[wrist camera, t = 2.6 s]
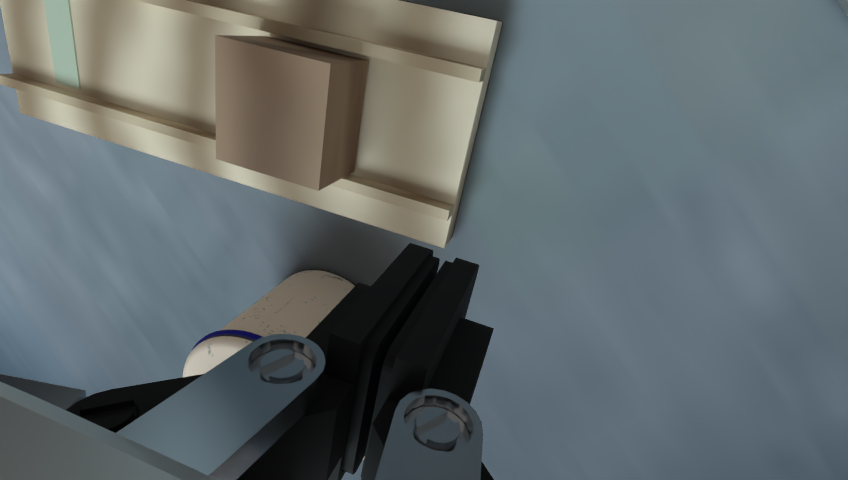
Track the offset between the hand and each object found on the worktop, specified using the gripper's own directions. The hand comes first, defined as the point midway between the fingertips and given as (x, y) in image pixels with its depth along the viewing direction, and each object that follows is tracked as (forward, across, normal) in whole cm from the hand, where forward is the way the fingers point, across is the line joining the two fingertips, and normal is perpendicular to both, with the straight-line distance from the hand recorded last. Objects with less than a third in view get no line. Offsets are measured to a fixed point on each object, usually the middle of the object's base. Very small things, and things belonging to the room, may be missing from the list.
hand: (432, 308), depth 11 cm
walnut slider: (+15, +12, 0) cm, 19 cm away
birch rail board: (+16, +19, 0) cm, 25 cm away
